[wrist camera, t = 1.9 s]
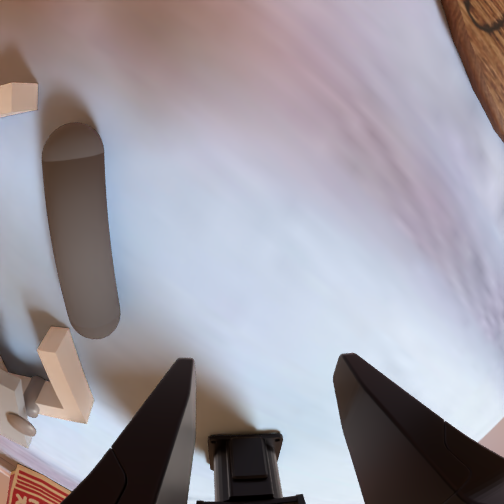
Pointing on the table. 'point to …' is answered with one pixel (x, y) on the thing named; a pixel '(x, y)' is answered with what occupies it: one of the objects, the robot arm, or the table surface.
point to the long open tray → (57, 338)
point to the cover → (14, 411)
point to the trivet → (481, 51)
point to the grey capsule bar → (81, 228)
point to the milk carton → (33, 488)
